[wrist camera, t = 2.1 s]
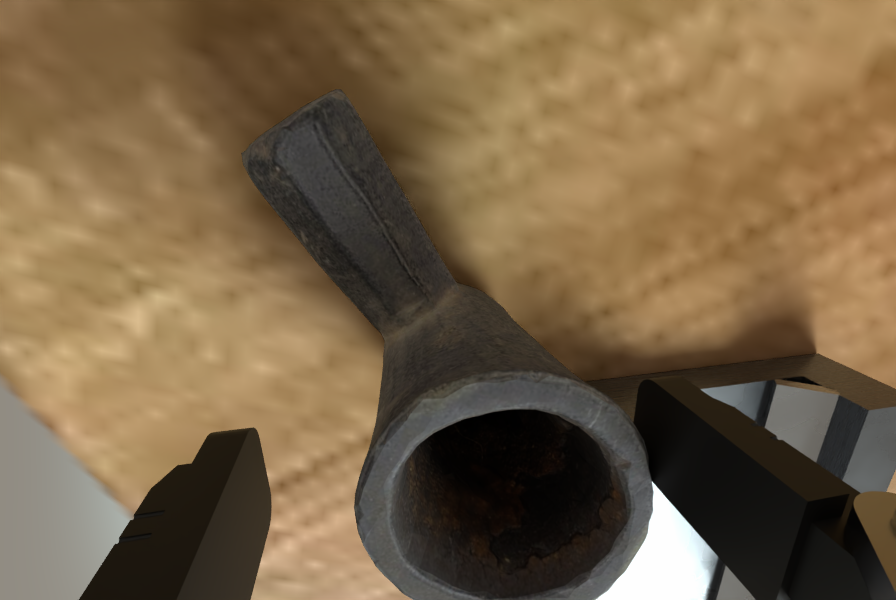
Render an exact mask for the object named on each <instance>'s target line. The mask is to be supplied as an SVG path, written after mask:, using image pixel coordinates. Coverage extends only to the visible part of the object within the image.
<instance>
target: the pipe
mask: <svg viewBox="0 0 896 600" xmlns="http://www.w3.org/2000/svg"><path fill="white" fill-rule="evenodd" d="M242 160H243V165H244V167H245V169H246V171H247V173H248V174H249V176H250V178H251V180H252V181H253V183H254V184H255V185H256V187H257V188H258V190H259V191H260V192H261V194H262V195H263V196H264V198H265V199H266V200H267V201H268V203H269V204H270V205H271V206H272V208H273V209H274V210H275V211H276V213H277V214H278V215H279V216H280V217H281V219H282V220H283V221H284V222H285V224H286V225H287V226H288V227H289V229H290V230H291V231H292V232H293V233H294V235H295V236H296V237H297V238H298V239H299V241H300V242H301V243H302V244H303V246H304V247H305V248H306V249H307V251H308V252H309V253H310V254H311V256H312V257H313V258H314V259H315V261H316V262H317V263H318V264H319V266H320V267H321V268H322V269H323V270H324V271H325V272H326V273H327V274H328V276H329V277H330V278H331V279H332V280H333V281H334V282H335V283H336V285H337V286H338V287H339V288H340V289H341V290H342V291H343V292H344V293H345V294H346V296H347V297H348V298H349V299H350V300H351V301H352V302H353V303H354V304H355V305H356V307H357V308H358V309H359V310H360V311H361V312H362V313H363V314H364V316H365V317H366V318H367V319H368V320H369V321H370V322H371V323H372V325H373V326H374V327H375V328H376V329H377V330H378V331H379V332H380V333H382V336H383V338H384V340H385V344H384V353H383V372H382V380H381V389H380V397H379V405H378V412H377V418H376V424H375V428H374V432H373V436H372V440H371V444H370V447H369V451H368V453H367V456H366V459H365V462H364V464H363V467H362V471H361V474H360V477H359V481H358V485H357V489H356V493H355V504H354V509H355V516H356V523H357V529H358V533H359V535H360V538H361V540H362V543H363V545H364V547H365V549H366V551H367V552H368V554H369V556H370V557H371V559H372V560H373V562H374V564H375V566H376V567H377V568H378V569H379V570H380V571H381V572H382V573H383V574H384V576H385V577H387V578H388V579H389V580H390V581H391V582H392V583H393V584H394V585H395V586H396V587H397V588H398V589H399V590H400V591H401V592H402V593H403V594H405V595H406V596H408V597H410V598H411V599H413V600H596V599H597V598H599V597H600V596H601V595H603V594H604V593H605V592H607V591H608V590H609V589H610V588H611V587H612V585H613V584H614V583H615V582H616V581H617V579H618V578H619V577H620V576H621V575H622V574H623V573H624V572H625V571H626V570H627V568H628V567H629V565H630V563H631V562H632V560H633V559H634V557H635V556H636V554H637V552H638V551H639V549H640V548H641V546H642V545H643V543H644V541H645V539H646V537H647V534H648V529H649V522H650V518H651V516H652V513H653V495H654V490H653V484H652V479H651V474H650V470H649V461H648V453H647V449H646V446H645V442H644V439H643V438H642V436H641V435H640V433H639V431H638V430H637V428H636V426H635V425H634V423H633V422H632V420H631V418H630V417H629V415H628V414H627V413H626V412H625V411H624V410H623V409H622V408H621V407H619V406H618V405H617V404H616V403H615V402H614V401H613V400H612V399H611V398H610V397H609V396H607V395H605V394H604V393H602V392H600V391H599V390H597V389H595V388H594V387H592V386H590V385H588V384H587V383H585V382H584V381H583V380H581V379H580V378H578V377H577V376H576V375H574V374H573V373H572V372H571V371H569V370H568V369H567V368H566V367H565V366H564V365H562V364H561V363H560V362H559V361H558V360H557V359H556V358H554V357H553V356H552V355H551V354H550V353H549V352H548V351H547V350H545V349H544V348H543V347H542V346H541V345H540V344H539V343H538V342H537V341H536V340H535V339H534V338H533V337H531V336H530V335H529V334H528V333H527V332H526V331H525V330H524V329H523V328H521V327H520V326H519V325H518V324H517V323H516V322H515V321H514V320H513V319H512V318H511V316H510V315H509V314H508V313H507V312H506V311H505V309H504V308H503V307H502V306H501V305H500V304H498V303H497V302H496V301H495V300H494V299H492V298H491V297H489V296H488V295H487V294H485V293H484V292H482V291H480V290H478V289H476V288H473V287H470V286H467V285H463V284H459V283H456V281H455V280H454V278H453V277H452V275H451V273H450V272H449V270H448V269H447V267H446V265H445V264H444V262H443V260H442V259H441V257H440V255H439V254H438V252H437V250H436V249H435V247H434V245H433V244H432V242H431V240H430V238H429V237H428V235H427V233H426V232H425V230H424V228H423V226H422V224H421V223H420V221H419V219H418V217H417V215H416V214H415V212H414V210H413V208H412V206H411V205H410V203H409V201H408V200H407V198H406V196H405V195H404V193H403V191H402V190H401V188H400V186H399V185H398V183H397V181H396V180H395V178H394V176H393V175H392V173H391V171H390V170H389V168H388V166H387V164H386V162H385V161H384V159H383V157H382V155H381V154H380V152H379V150H378V148H377V146H376V145H375V143H374V141H373V139H372V138H371V136H370V134H369V132H368V130H367V129H366V127H365V125H364V124H363V122H362V120H361V118H360V117H359V115H358V113H357V112H356V110H355V108H354V107H353V105H352V104H351V102H350V101H349V99H348V98H347V96H346V95H345V94H344V93H343V91H342V90H341V89H336V90H334V91H331V92H329V93H327V94H325V95H323V96H322V97H320V98H318V99H316V100H314V101H312V102H311V103H309V104H307V105H305V106H303V107H302V108H300V109H299V110H297V111H296V112H294V113H293V114H292V115H290V116H289V117H287V118H286V119H284V120H283V121H281V122H280V123H278V124H277V125H275V126H274V127H272V128H271V129H269V130H268V131H266V132H265V133H264V134H262V135H261V136H260V137H258V138H257V139H256V140H255V141H254V142H253V143H252V144H250V145H249V147H248V148H247V150H246V151H244V152H243V153H242Z"/></svg>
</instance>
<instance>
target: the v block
mask: <svg viewBox="0 0 896 600" xmlns="http://www.w3.org/2000/svg"><path fill="white" fill-rule="evenodd" d="M669 376H681V377H683V378H685V379H686V380H688V381H689V382H691V383H692V384H694V385H695V386H696V387H698V388H699V389H701V390H702V391H704V392H705V393H706V394H708V395H709V396H711V397H712V398H715V399H717V400H719V401H722V402H724V403H726V404H728V405H731V406H733V407H735V408H736V409H738V410H739V411H741V412H742V413H744V414H745V415H747V416H748V417H750V418H751V419H753V420H754V421H756V422H757V424H758V426H763V427H764V428H766V429H767V430H769V431H770V432H772V433H773V434H775V435H776V436H777V439H778V440H784V441H785V442H786V443H788V444H789V445H791V446H792V447H794V448H795V449H797V450H798V451H800V452H801V453H803V454H804V455H806V456H807V457H808V458H810V459H811V460H813V461H814V462H816V463H817V464H819V465H820V466H822V467H823V468H825V469H826V470H828V471H829V472H831V473H832V474H833V475H835V476H836V477H838V478H839V479H841V480H842V481H844V482H845V483H847V484H848V485H850V486H851V487H853V488H854V489H856V490H857V491H858V492H860V493H864V492H869V491H882V492H886V491H887V488H888V486H889V484H890V481H891V479H892V477H893V474H894V472H895V470H896V389H895V388H892V387H890V386H888V385H886V384H884V383H881V382H879V381H877V380H875V379H873V378H870V377H868V376H866V375H864V374H862V373H860V372H857V371H855V370H853V369H851V368H849V367H846V366H844V365H842V364H840V363H838V362H835V361H833V360H831V359H829V358H827V357H824V356H822V355H820V354H810V355H802V356H793V357H785V358H777V359H769V360H761V361H752V362H744V363H736V364H728V365H719V366H711V367H703V368H695V369H687V370H678V371H670V372H662V373H654V374H646V375H637V376H629V377H621V378H613V379H605V380H596V381H588V382H585V383H587V384H588V385H590V386H592V387H594V388H595V389H597V390H599V391H600V392H602V393H604V394H605V395H607V396H609V397H610V398H611V399H612V400H613V401H614V402H615V403H616V404H617V405H618V406H619V407H621V408H622V409H623V410H624V411H625V412H626V413H627V414H628V415H629V417H630V418H631V420H632V422H634V414H635V407H636V400H637V392H638V387H639V385H640V383H641V382H642V381H643V380H646V379H653V378H661V377H669ZM652 484H653V490H654V495H653V513H652V516H651V518H650V522H649V529H648V534H647V537H646V539H645V541H644V543H643V545H642V546H641V548H640V549H639V551H638V552H637V554H636V556H635V557H634V559H633V560H632V562H631V563H630V565H629V567H628V568H627V570H626V571H625V572H624V573H623V574H622V575H621V576H620V577H619V578H618V579H617V581H616V582H615V583H614V584H613V585H612V587H611V588H610V589H609V590H608V591H607V592H605V593H604V594H603V595H601V596H600V597H599V598H597V599H596V600H756V599H755V598H754V597H753V596H752V595H751V594H750V592H749V591H748V590H747V589H746V588H745V587H744V586H743V584H742V583H741V582H740V581H739V580H738V579H737V578H736V576H735V575H734V574H733V573H732V572H731V571H730V570H729V569H728V567H727V566H726V565H725V564H724V563H723V562H722V561H721V559H720V558H719V557H718V556H717V555H716V554H715V553H714V551H713V550H712V549H711V548H710V547H709V546H708V545H707V543H706V542H705V541H704V540H703V539H702V538H701V537H700V536H699V534H698V533H697V532H696V531H695V530H694V529H693V528H692V526H691V525H690V524H689V523H688V522H687V521H686V520H685V518H684V517H683V516H682V515H681V514H680V513H679V512H678V510H677V509H676V508H675V507H674V506H673V505H672V504H671V503H670V501H669V500H668V499H667V498H666V497H665V496H664V495H663V493H662V492H661V491H660V490H659V489H658V488H657V487H656V485H655V484H654V483H653V482H652Z"/></svg>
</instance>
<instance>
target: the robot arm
mask: <svg viewBox="0 0 896 600" xmlns="http://www.w3.org/2000/svg"><path fill="white" fill-rule="evenodd" d="M633 423H634V425H635V426H636V428H637V430H638V431H639V433H640V435H641V436H642V438H643V439H644V442H645V446H646V449H647V453H648V461H649V470H650V474H651V479H652V482H653V483H654V484H655V485H656V487H657V488H658V489H659V490H660V491H661V492H662V493H663V495H664V496H665V497H666V498H667V499H668V500H669V501H670V503H671V504H672V505H673V506H674V507H675V508H676V509H677V510H678V512H679V513H680V514H681V515H682V516H683V517H684V518H685V520H686V521H687V522H688V523H689V524H690V525H691V526H692V528H693V529H694V530H695V531H696V532H697V533H698V534H699V536H700V537H701V538H702V539H703V540H704V541H705V542H706V543H707V545H708V546H709V547H710V548H711V549H712V550H713V551H714V553H715V554H716V555H717V556H718V557H719V558H720V559H721V561H722V562H723V563H724V564H725V565H726V566H727V567H728V569H729V570H730V571H731V572H732V573H733V574H734V575H735V576H736V578H737V579H738V580H739V581H740V582H741V583H742V584H743V586H744V587H745V588H746V589H747V590H748V591H749V592H750V594H751V595H752V596H753V597H754V598H755V599H756V600H896V494H895V493H890V492H882V491H869V492H864V493H860V492H858V491H857V490H856V489H854V488H853V487H851V486H850V485H848V484H847V483H845V482H844V481H842V480H841V479H839V478H838V477H836V476H835V475H833V474H832V473H831V472H829V471H828V470H826V469H825V468H823V467H822V466H820V465H819V464H817V463H816V462H814V461H813V460H811V459H810V458H808V457H807V456H806V455H804V454H803V453H801V452H800V451H798V450H797V449H795V448H794V447H792V446H791V445H789V444H788V443H786V442H785V441H784V440H778V439H777V436H776V435H775V434H773V433H772V432H770V431H769V430H767V429H766V428H764V427H763V426H758V424H757V422H756V421H754V420H753V419H751V418H750V417H748V416H747V415H745V414H744V413H742V412H741V411H739V410H738V409H736V408H735V407H733V406H731V405H728V404H726V403H724V402H722V401H719V400H717V399H715V398H712V397H711V396H709V395H708V394H706V393H705V392H704V391H702V390H701V389H699V388H698V387H696V386H695V385H694V384H692V383H691V382H689V381H688V380H686V379H685V378H683V377H681V376H669V377H661V378H653V379H646V380H643V381H642V382H641V383H640V385H639V387H638V392H637V400H636V407H635V414H634V422H633ZM270 520H271V492H270V487H269V482H268V477H267V472H266V468H265V463H264V458H263V453H262V448H261V443H260V438H259V435H258V432H257V430H256V429H255V428H245V429H237V430H229V431H221V432H213V433H210V434H209V435H208V436H207V438H206V439H205V441H204V443H203V445H202V446H201V448H200V450H199V452H198V453H197V455H196V457H195V459H194V460H193V462H192V463H191V464H184V465H178V466H176V467H175V468H174V469H173V470H172V471H171V472H170V473H168V474H167V475H166V476H165V477H164V478H163V479H161V480H160V481H159V482H158V483H157V484H156V485H155V486H153V487H152V488H151V489H150V491H149V492H148V494H147V496H146V497H145V499H144V500H143V502H142V503H141V505H140V506H139V508H138V509H137V511H136V512H135V514H134V520H130V522H129V523H128V525H127V526H126V528H125V529H124V531H123V533H122V534H121V536H120V537H119V543H118V544H115V545H114V546H113V548H112V549H111V551H110V553H109V554H108V556H107V557H106V559H105V560H104V562H103V563H102V565H101V567H100V568H99V570H98V571H97V573H96V574H95V576H94V577H93V579H92V581H91V582H90V584H89V585H88V587H87V588H86V590H85V591H84V593H83V594H82V596H81V597H80V599H79V600H250V599H251V595H252V592H253V588H254V584H255V580H256V576H257V573H258V569H259V565H260V561H261V557H262V553H263V550H264V546H265V542H266V538H267V534H268V531H269V526H270Z"/></svg>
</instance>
